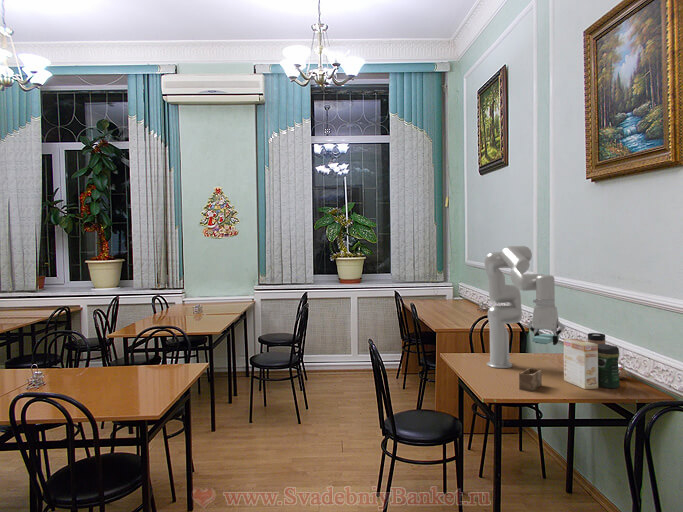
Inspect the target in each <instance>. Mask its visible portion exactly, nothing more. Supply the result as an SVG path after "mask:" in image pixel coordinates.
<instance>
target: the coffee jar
mask: <svg viewBox="0 0 683 512" xmlns="http://www.w3.org/2000/svg"><path fill="white" fill-rule="evenodd" d="M619 357H620V349H619V346H616V345H612V344H606V343H605V344H598V387H602V388H606V389H618V388H619V387H620V386H621V383H620V382H621V381H620V372H619Z"/></svg>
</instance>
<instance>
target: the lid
mask: <svg viewBox="0 0 683 512" xmlns="http://www.w3.org/2000/svg"><path fill="white" fill-rule="evenodd" d="M553 336H554V334H553V333H539V335H538V336H535V337H534V336H532V339H531V342H534V343H535V342H538V343H537V344H540V345H548V344H551V343H553ZM558 340H560V334H559V335H558Z"/></svg>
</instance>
